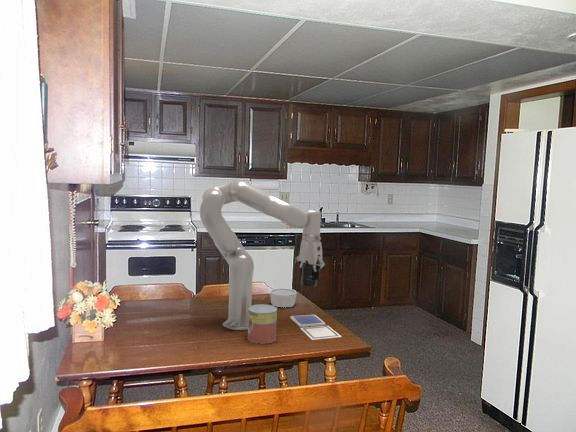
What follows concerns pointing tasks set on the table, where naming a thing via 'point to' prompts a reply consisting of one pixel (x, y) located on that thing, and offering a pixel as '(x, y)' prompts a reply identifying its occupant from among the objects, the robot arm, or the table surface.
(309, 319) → the ink pad
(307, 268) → the supplement bottle
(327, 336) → the marked card
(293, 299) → the ramekin
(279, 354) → the table surface
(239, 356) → the table surface
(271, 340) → the canned food
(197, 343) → the table surface
